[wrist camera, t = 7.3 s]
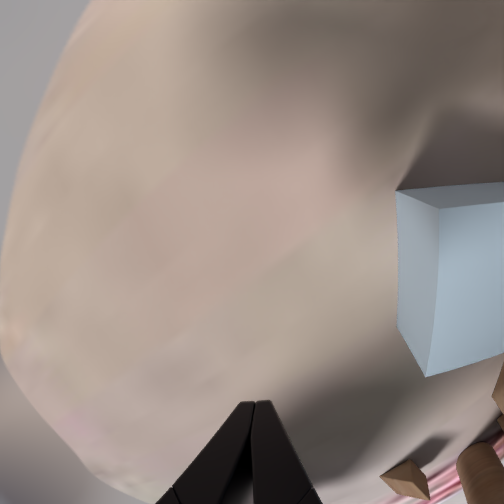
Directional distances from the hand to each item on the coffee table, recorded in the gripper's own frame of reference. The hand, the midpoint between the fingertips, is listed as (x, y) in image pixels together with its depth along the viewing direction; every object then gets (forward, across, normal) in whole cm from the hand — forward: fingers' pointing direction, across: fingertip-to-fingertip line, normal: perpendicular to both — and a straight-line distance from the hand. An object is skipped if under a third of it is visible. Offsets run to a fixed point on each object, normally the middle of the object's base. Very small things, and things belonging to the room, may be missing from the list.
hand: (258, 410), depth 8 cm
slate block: (+8, -11, -1) cm, 13 cm away
